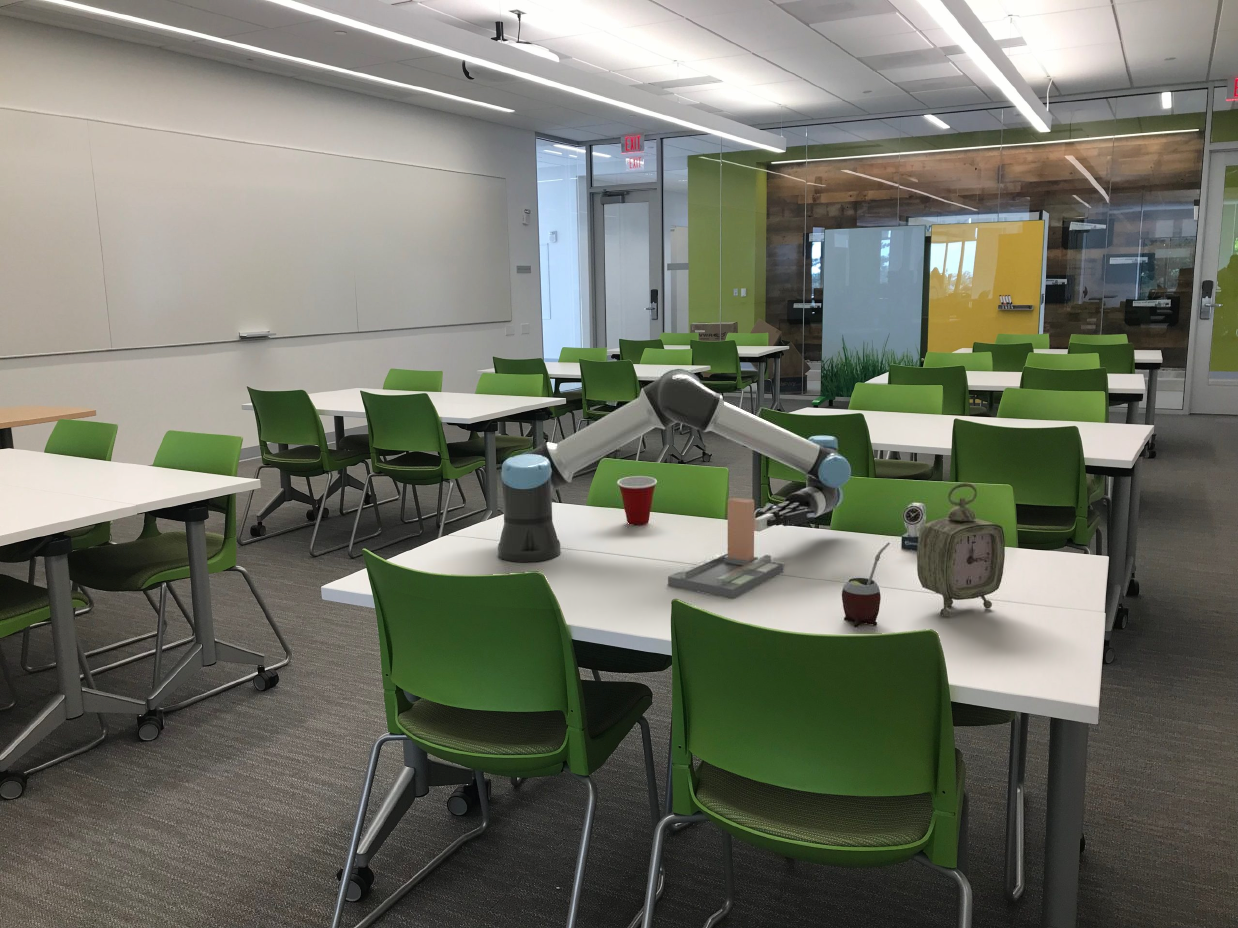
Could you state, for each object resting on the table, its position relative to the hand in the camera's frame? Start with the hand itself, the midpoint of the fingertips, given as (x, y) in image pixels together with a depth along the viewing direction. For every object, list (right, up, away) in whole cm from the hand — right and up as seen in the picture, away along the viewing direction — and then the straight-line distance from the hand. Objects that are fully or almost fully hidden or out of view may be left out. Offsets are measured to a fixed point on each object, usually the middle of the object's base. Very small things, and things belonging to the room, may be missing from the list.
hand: (756, 525), depth 213 cm
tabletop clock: (+35, -15, -28) cm, 47 cm away
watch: (+40, -7, +15) cm, 43 cm away
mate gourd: (+15, -16, -34) cm, 41 cm away
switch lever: (-4, -8, -2) cm, 9 cm away
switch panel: (-7, -11, -6) cm, 15 cm away
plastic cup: (-26, -3, +45) cm, 52 cm away
